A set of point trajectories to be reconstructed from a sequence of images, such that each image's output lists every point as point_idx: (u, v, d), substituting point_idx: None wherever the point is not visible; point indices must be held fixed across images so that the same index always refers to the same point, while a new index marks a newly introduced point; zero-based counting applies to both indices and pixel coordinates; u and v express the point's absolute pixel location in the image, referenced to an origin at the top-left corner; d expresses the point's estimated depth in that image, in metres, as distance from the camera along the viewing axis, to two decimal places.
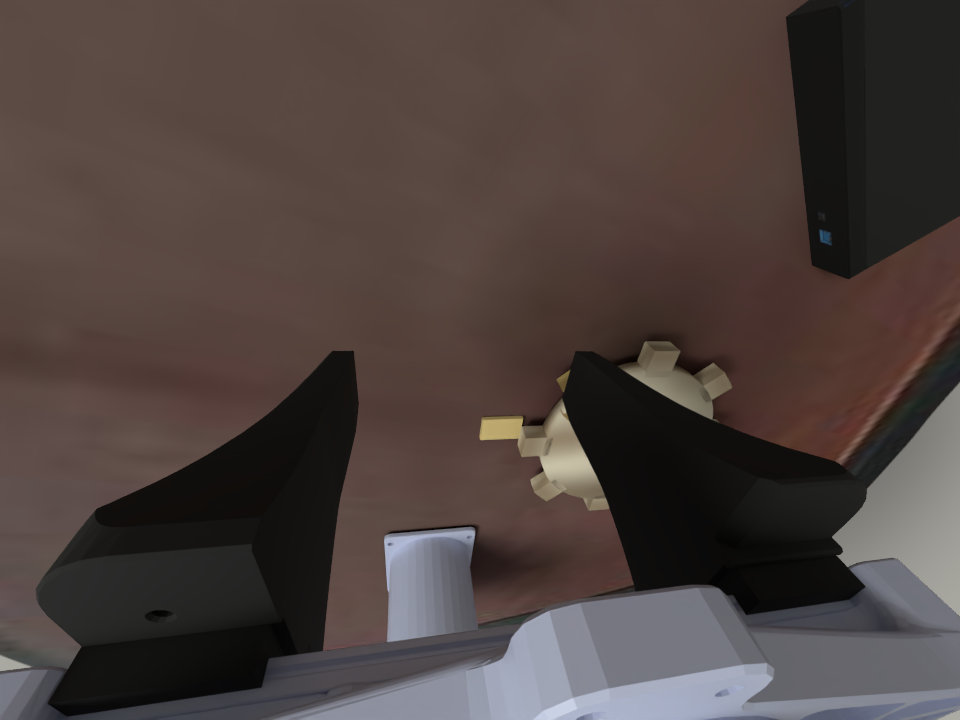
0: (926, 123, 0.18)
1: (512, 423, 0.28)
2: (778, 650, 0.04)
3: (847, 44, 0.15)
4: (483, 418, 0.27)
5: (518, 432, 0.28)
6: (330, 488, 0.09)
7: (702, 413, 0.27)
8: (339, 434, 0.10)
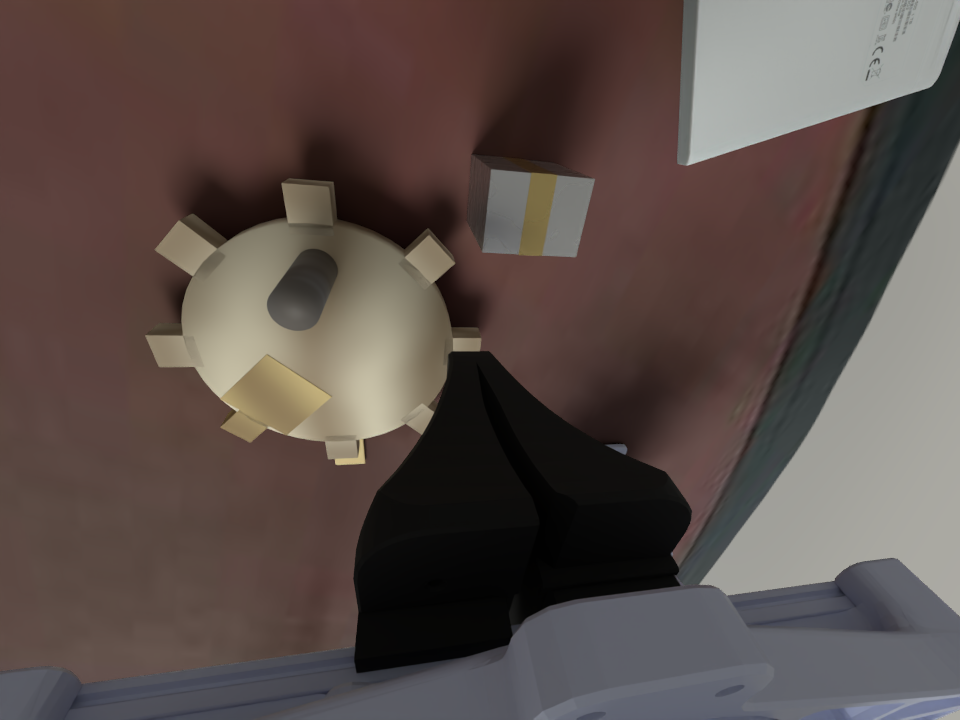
0: None
1: None
2: (778, 650, 0.04)
3: None
4: (335, 462, 0.27)
5: None
6: None
7: (249, 254, 0.16)
8: None
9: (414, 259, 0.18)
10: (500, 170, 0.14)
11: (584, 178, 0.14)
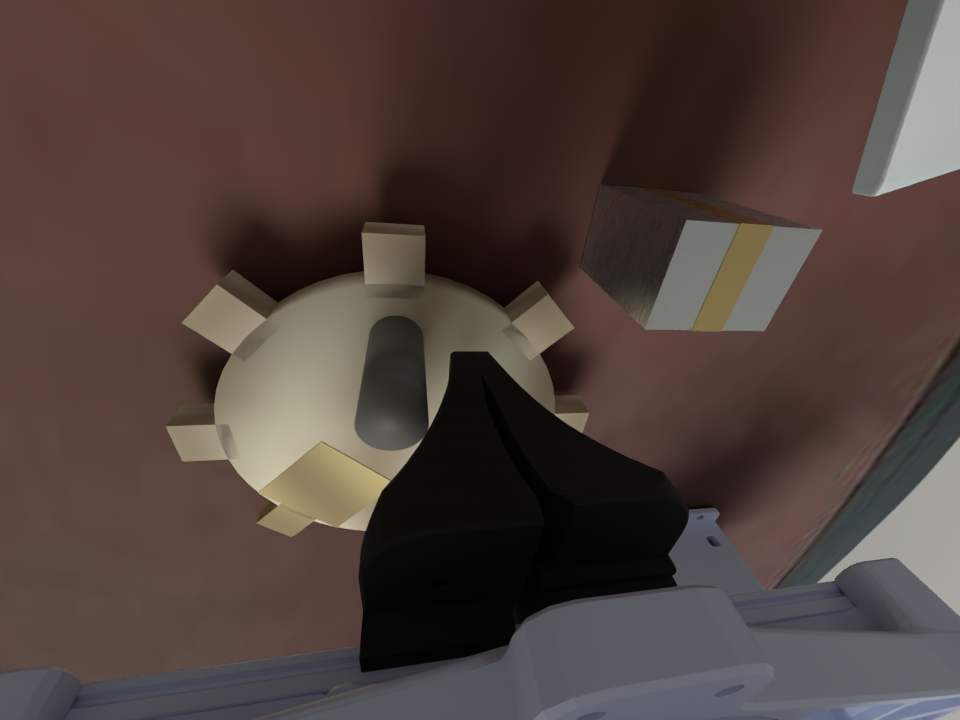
0: None
1: None
2: (778, 650, 0.04)
3: None
4: None
5: None
6: None
7: (310, 324, 0.12)
8: None
9: (523, 324, 0.13)
10: (697, 220, 0.09)
11: (808, 229, 0.10)
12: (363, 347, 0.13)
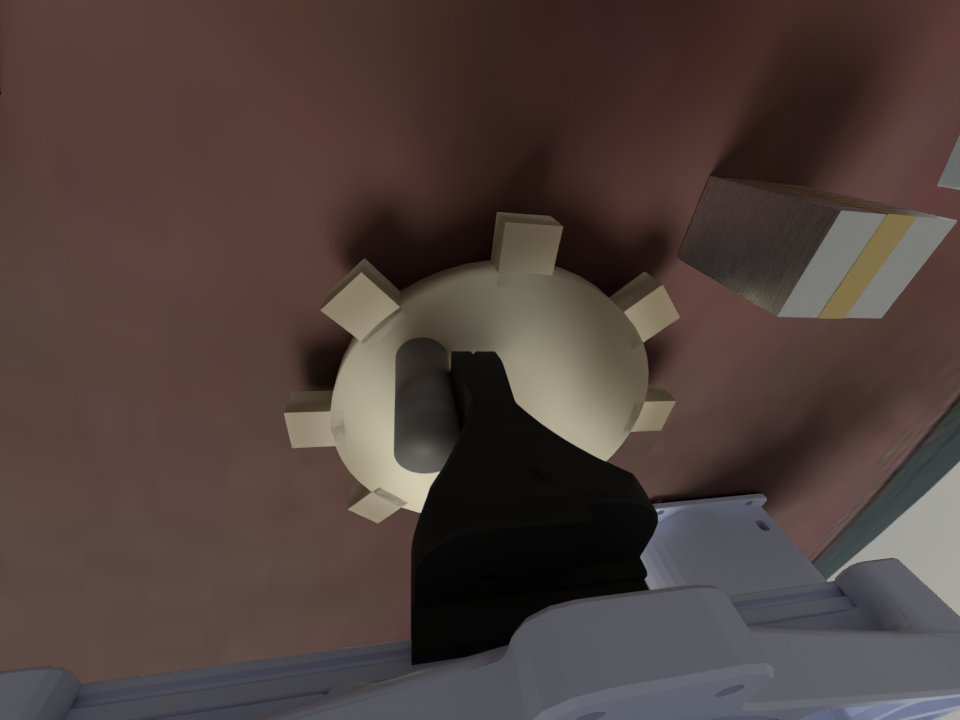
0: None
1: None
2: (778, 650, 0.04)
3: None
4: None
5: None
6: None
7: (357, 394, 0.14)
8: None
9: (510, 265, 0.12)
10: (849, 211, 0.10)
11: (944, 220, 0.10)
12: None
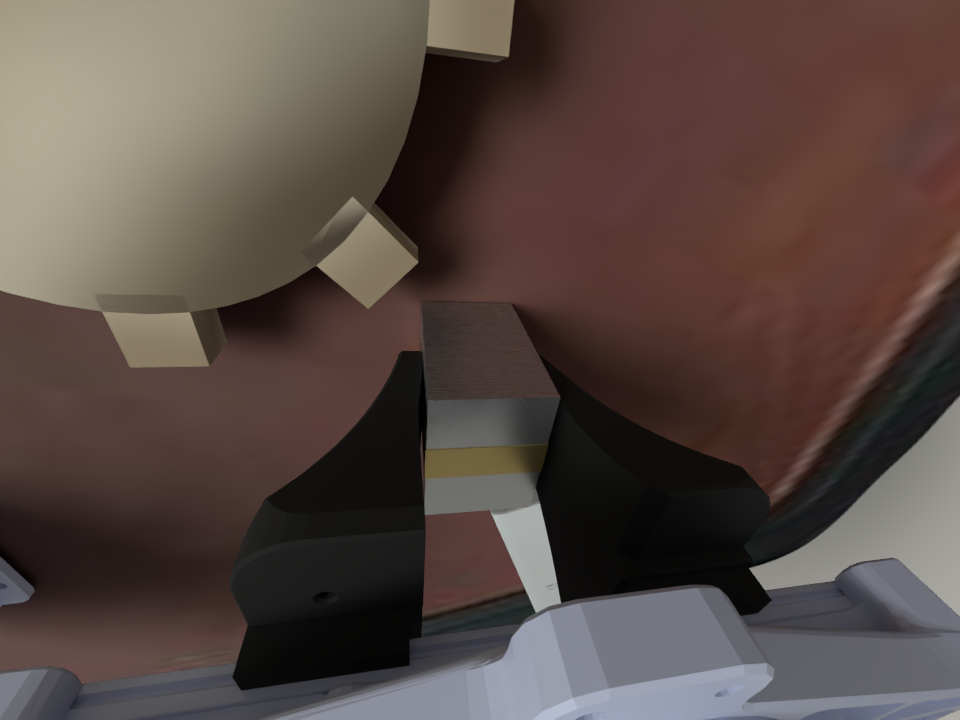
0: None
1: None
2: (778, 650, 0.04)
3: None
4: None
5: None
6: None
7: None
8: (419, 431, 0.10)
9: None
10: (555, 407, 0.09)
11: (531, 496, 0.11)
12: None
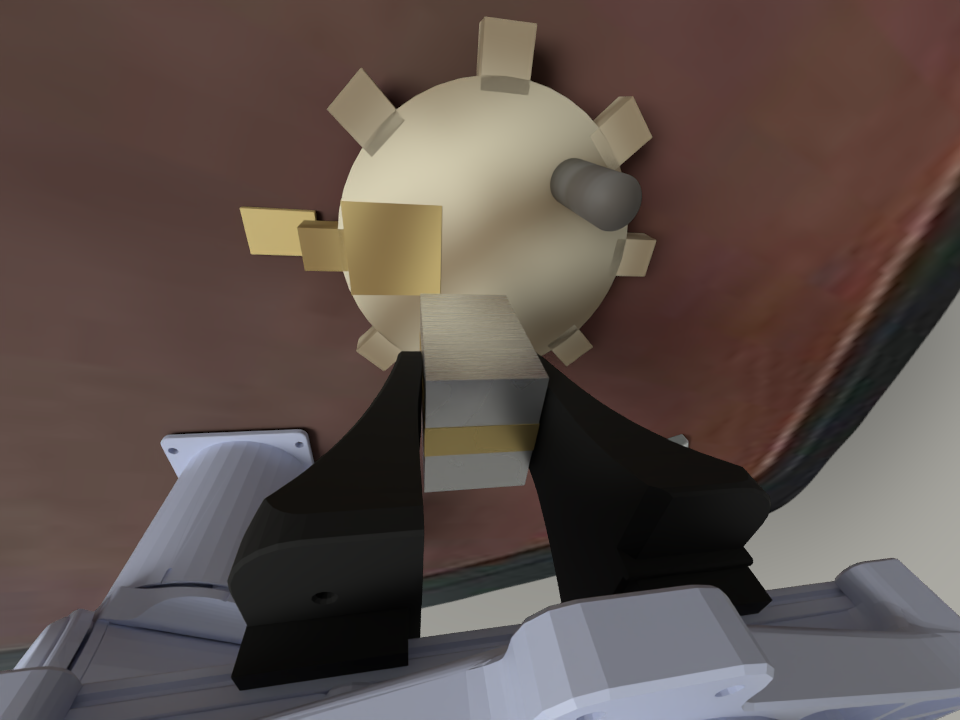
0: None
1: (299, 222, 0.17)
2: (778, 650, 0.04)
3: None
4: (242, 207, 0.16)
5: None
6: None
7: (545, 114, 0.14)
8: (418, 431, 0.10)
9: (629, 247, 0.18)
10: (545, 388, 0.10)
11: (525, 475, 0.11)
12: (550, 166, 0.15)
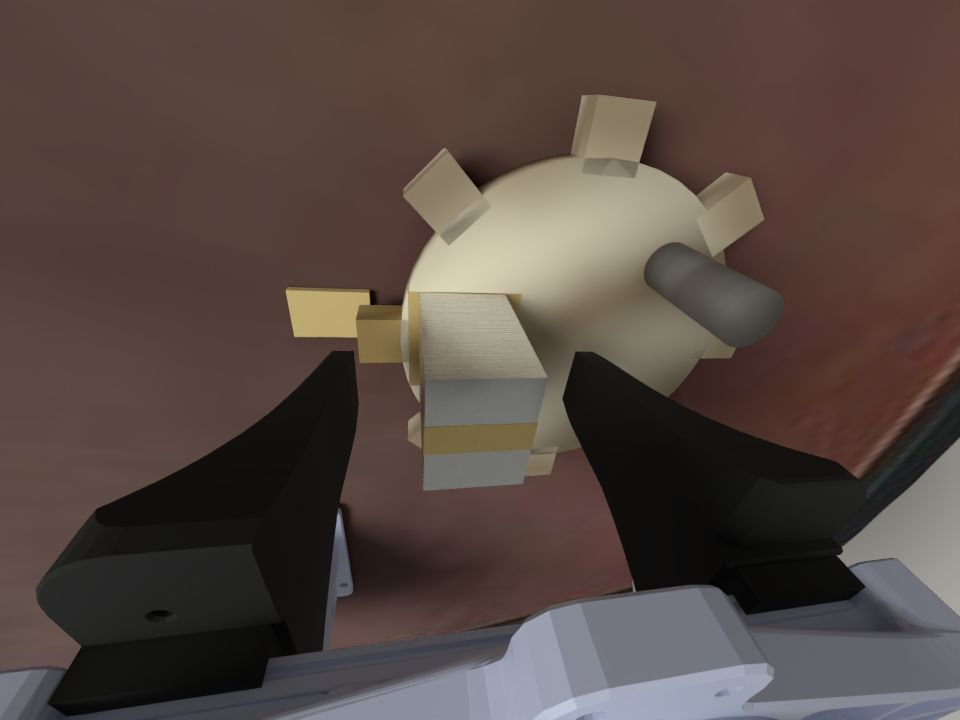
0: None
1: (351, 304, 0.15)
2: (778, 650, 0.04)
3: None
4: (288, 288, 0.14)
5: None
6: (330, 488, 0.09)
7: (650, 198, 0.12)
8: (339, 434, 0.10)
9: None
10: (543, 387, 0.10)
11: (523, 473, 0.11)
12: (647, 251, 0.13)
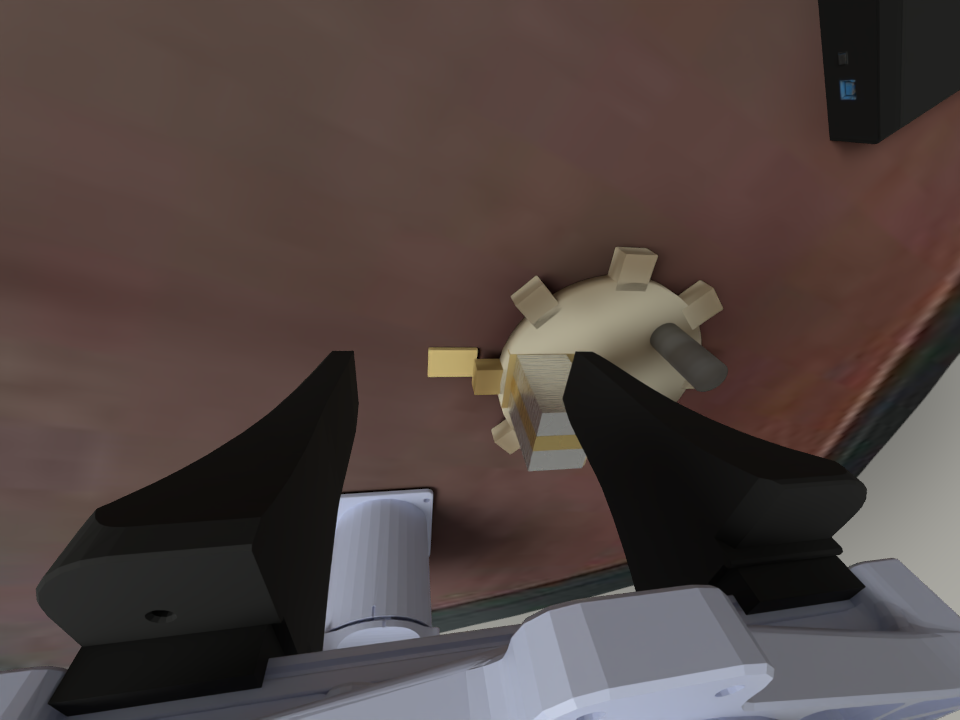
0: None
1: (465, 357, 0.24)
2: (778, 650, 0.04)
3: None
4: (429, 348, 0.23)
5: None
6: (330, 488, 0.09)
7: (654, 300, 0.21)
8: (339, 434, 0.10)
9: None
10: None
11: (583, 462, 0.20)
12: (652, 328, 0.22)
